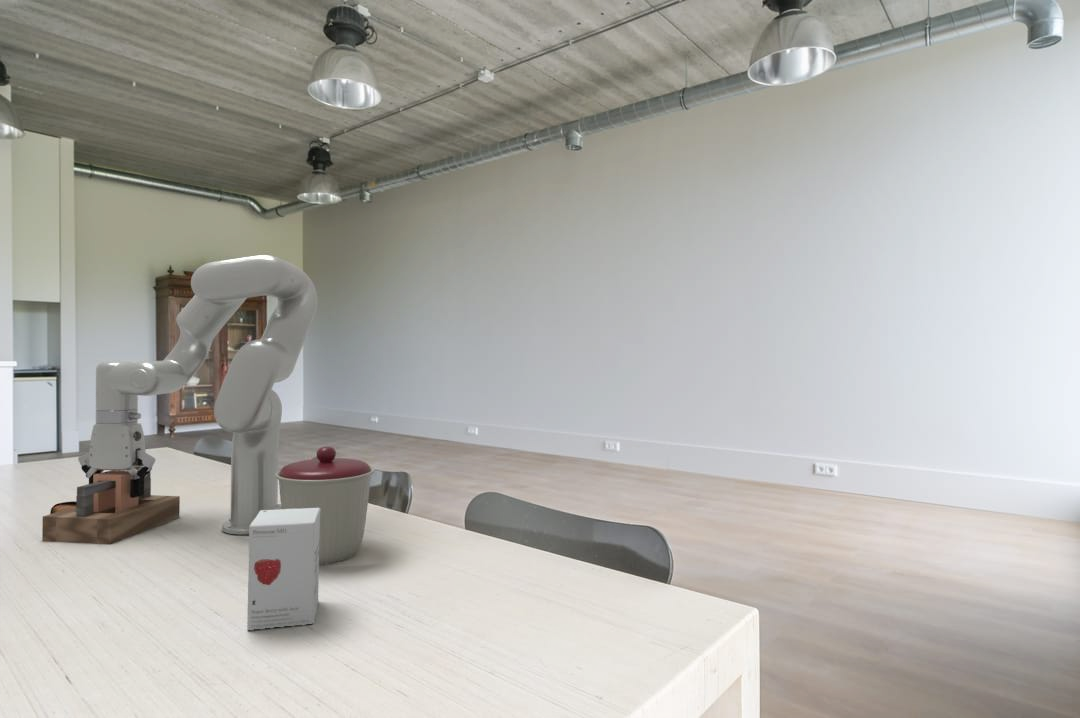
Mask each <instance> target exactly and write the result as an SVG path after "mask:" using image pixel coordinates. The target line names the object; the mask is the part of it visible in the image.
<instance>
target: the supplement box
mask: <svg viewBox="0 0 1080 718" xmlns="http://www.w3.org/2000/svg"><path fill="white" fill-rule="evenodd" d="M320 510H321V509H320V508H302V509H279V510H260V512H259V513H258V515H257V516H256V518H255V519H254V520H253V522H252V523H251V525H250V526H249V534H248V573H247V575H248V578H247V579H248V580H247V581H248V583H247V623H246V624H247V626H246V627H247V631H248V630H250V631H255V630H254V629H260V630H266V629H265V628H270V629H275V628H274V627H281V628H285V627H284V626H292V627H294V626H293V625H302V626H304V625H303V624H312V623H313V624H314V622H315V619H316V614H317V609H318V606H319V605H318V604H319V584H320V583H319V577H320V576H319V574H320V573H319V572H320V570H319V569H320V566H319V565H320V564H319V539H320ZM313 624H312V625H313Z"/></svg>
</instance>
